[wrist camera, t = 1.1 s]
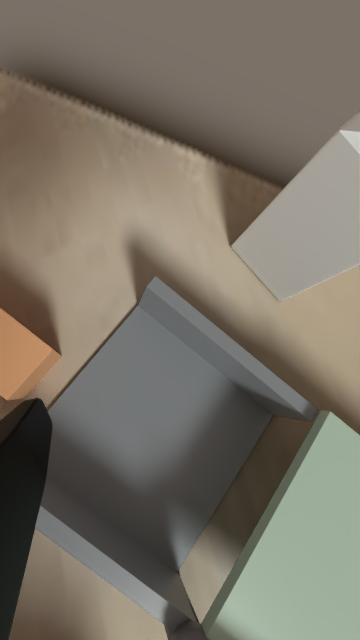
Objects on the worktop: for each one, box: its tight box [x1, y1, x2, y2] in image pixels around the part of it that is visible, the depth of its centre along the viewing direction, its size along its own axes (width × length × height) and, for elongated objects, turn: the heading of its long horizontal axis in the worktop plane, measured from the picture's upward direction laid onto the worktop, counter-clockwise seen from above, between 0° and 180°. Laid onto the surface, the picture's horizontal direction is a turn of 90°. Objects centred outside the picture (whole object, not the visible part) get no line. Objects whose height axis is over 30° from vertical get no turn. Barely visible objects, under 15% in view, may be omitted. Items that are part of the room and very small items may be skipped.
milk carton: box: [231, 112, 360, 302], centre depth 23 cm, size 7×7×19 cm
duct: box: [35, 276, 318, 640], centre depth 23 cm, size 17×16×6 cm
